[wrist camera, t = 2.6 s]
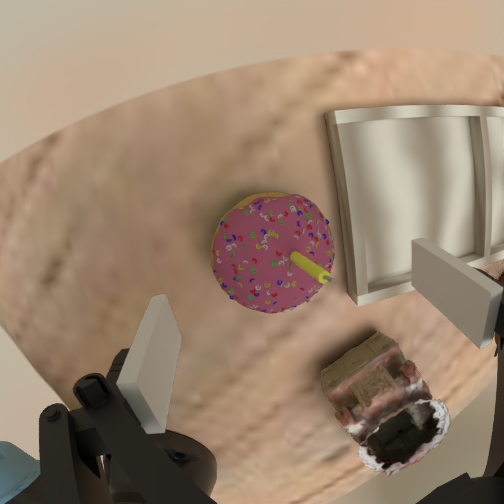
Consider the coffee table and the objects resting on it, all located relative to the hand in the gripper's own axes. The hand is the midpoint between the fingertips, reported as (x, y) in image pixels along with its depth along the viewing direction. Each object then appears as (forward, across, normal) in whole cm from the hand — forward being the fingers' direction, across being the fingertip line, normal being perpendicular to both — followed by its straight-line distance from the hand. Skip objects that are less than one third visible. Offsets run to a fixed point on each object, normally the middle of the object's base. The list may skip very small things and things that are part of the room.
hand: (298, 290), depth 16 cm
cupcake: (+11, 0, 0) cm, 11 cm away
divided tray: (+11, +22, +1) cm, 24 cm away
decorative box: (+11, +11, -21) cm, 26 cm away
